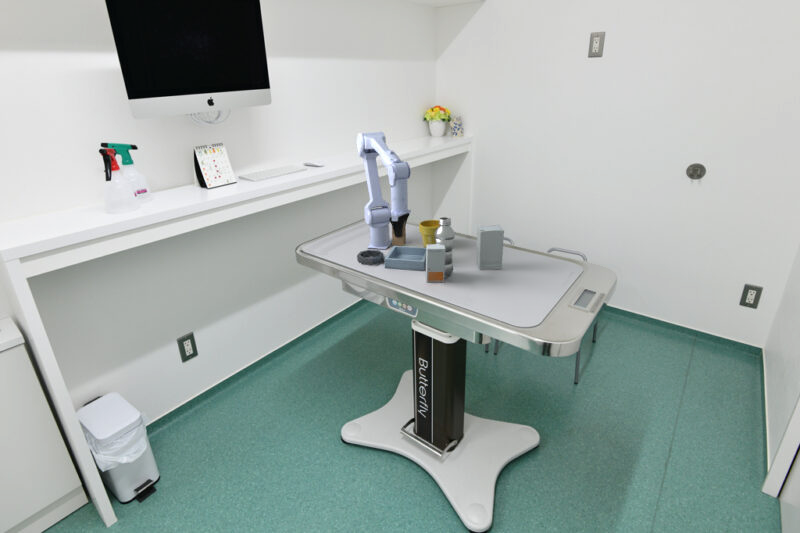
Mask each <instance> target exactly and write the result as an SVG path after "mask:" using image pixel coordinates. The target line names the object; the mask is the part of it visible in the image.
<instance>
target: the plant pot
mask: <svg viewBox="0 0 800 533" xmlns="http://www.w3.org/2000/svg"><path fill="white" fill-rule="evenodd" d="M439 226H440V224H439V219H427V220H422V221H421V222H419V224H418V228H419V229H418V230H419V233H420V234H421V238H422V245H423V248H427V246H426V245H433V244H436V241H435V232H436V230H437V229H438V227H439Z"/></svg>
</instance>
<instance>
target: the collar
mask: <svg viewBox="0 0 800 533" xmlns="http://www.w3.org/2000/svg"><path fill="white" fill-rule="evenodd" d="M366 257H367V258H366ZM356 260H357V261H358V262H357V263H359V264H360V263H361V264H360V265H363V266H375V265H378V264H379V265H380V264H382V263H383V261H385V257H384V253H383V252H382V251H381V250H380V249H379V250H378V249H365V250H362V251H359V252H358V253H357V255H356Z"/></svg>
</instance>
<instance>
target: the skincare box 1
mask: <svg viewBox="0 0 800 533" xmlns="http://www.w3.org/2000/svg"><path fill="white" fill-rule="evenodd" d="M426 246H427V249H426V267H425V279H426V280H425V281H426V283H445V277H444V273H445V251H446V249H445V245H440V244H433V245H426Z"/></svg>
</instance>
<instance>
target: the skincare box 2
mask: <svg viewBox="0 0 800 533" xmlns="http://www.w3.org/2000/svg"><path fill="white" fill-rule="evenodd" d="M504 233H505V230H504V228H503V227H502V226H501V225H500V224H492V225H491V224H490V225H477V233H476V234H477V235H476V236H477V237H476V265H477V267H478V268H477V269H478V270H479V271H485V270H486V271H487V270H488V271H489V270H502V269H503V255H504V254H503V251H504Z"/></svg>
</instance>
